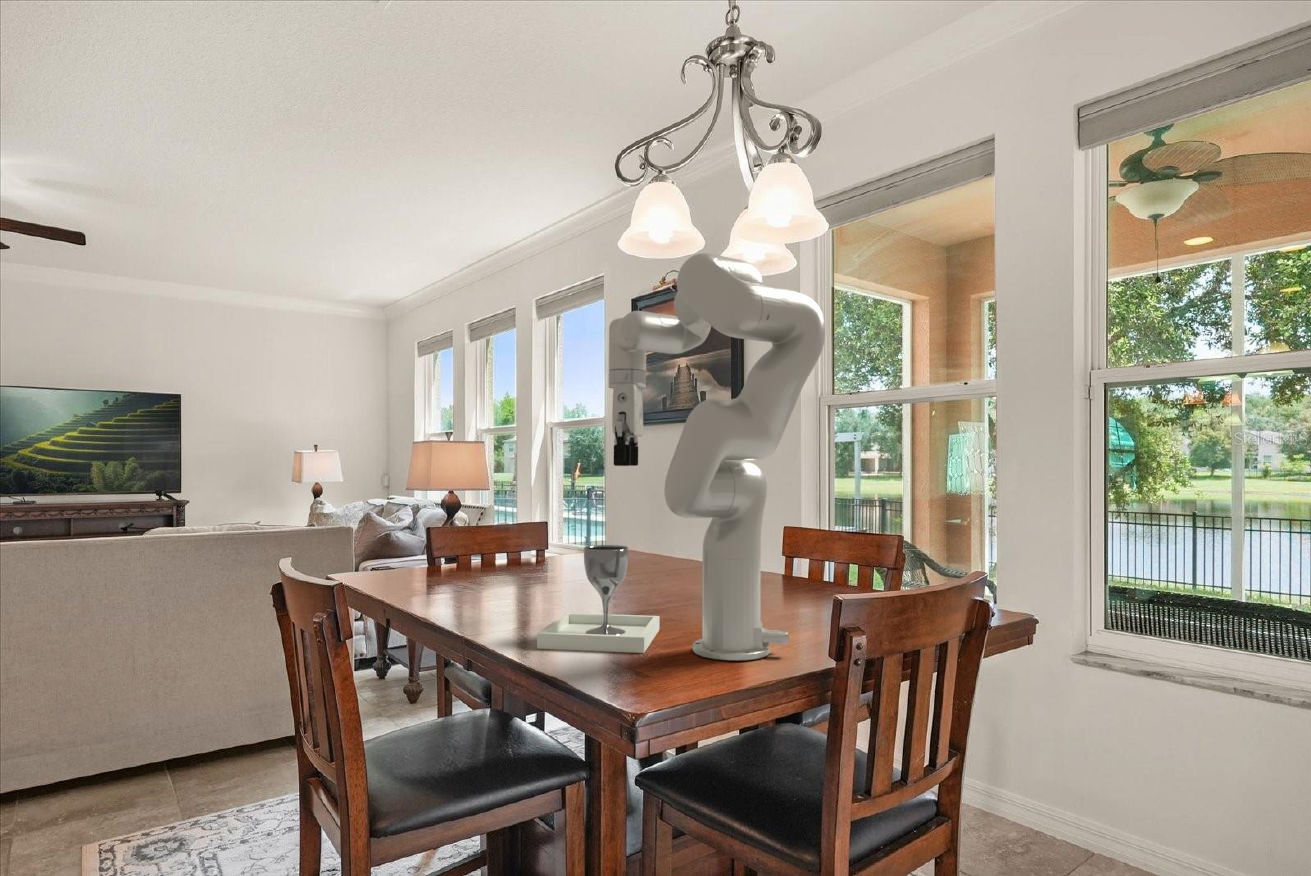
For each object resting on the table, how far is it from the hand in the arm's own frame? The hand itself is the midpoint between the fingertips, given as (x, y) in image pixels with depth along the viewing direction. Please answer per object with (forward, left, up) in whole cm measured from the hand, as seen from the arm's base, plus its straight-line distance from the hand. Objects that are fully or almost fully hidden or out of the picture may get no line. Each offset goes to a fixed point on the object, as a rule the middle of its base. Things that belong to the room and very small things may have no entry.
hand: (626, 465), depth 153 cm
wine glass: (+1, +16, -30) cm, 34 cm away
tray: (+1, +18, -31) cm, 35 cm away
